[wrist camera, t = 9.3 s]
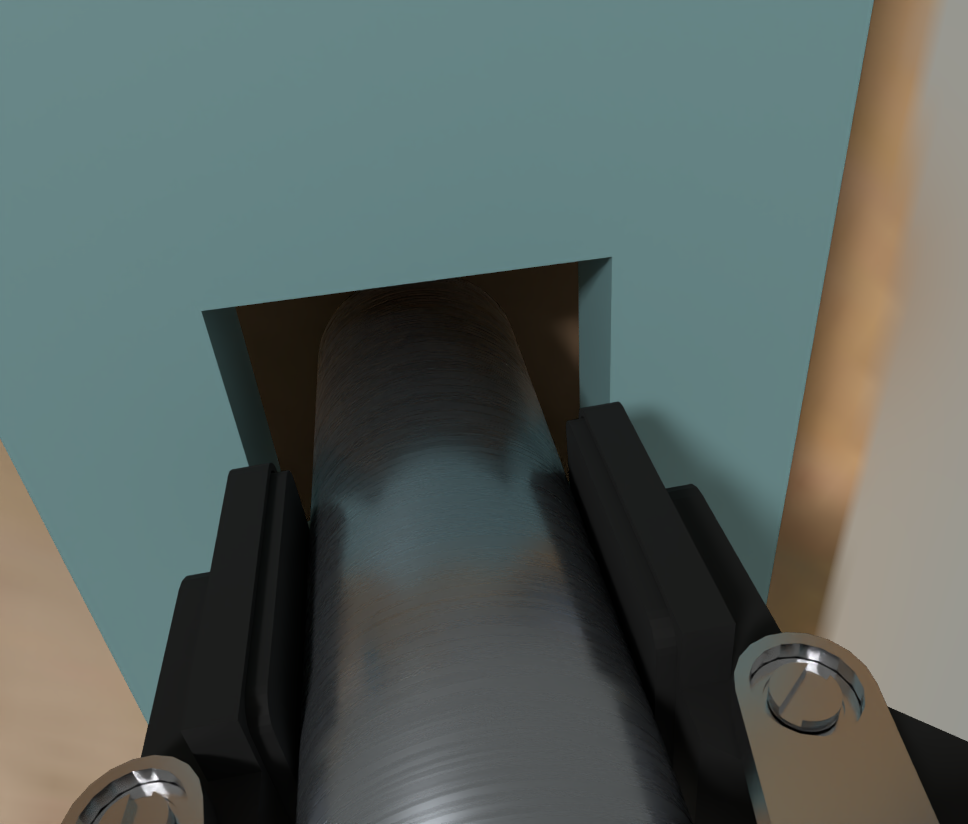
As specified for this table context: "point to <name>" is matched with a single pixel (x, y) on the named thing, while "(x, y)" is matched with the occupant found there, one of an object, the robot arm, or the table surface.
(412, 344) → the tall pin
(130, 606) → the hole bridge
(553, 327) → the table surface
